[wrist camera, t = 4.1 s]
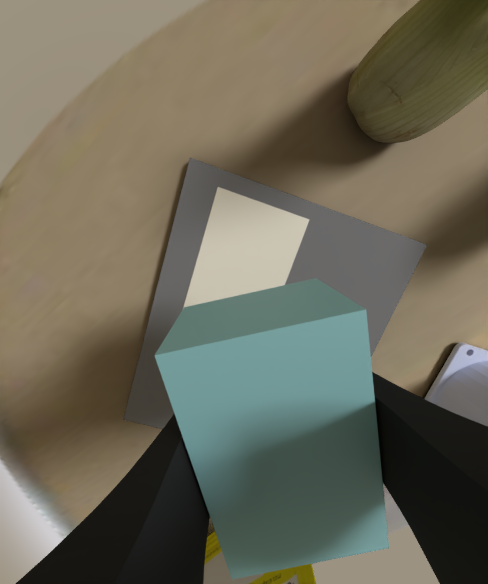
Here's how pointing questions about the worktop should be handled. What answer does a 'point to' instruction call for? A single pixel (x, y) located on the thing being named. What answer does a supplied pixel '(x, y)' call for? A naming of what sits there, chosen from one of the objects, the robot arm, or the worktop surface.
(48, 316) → the worktop surface
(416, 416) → the robot arm
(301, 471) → the card box
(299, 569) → the food package
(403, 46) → the fennel bulb
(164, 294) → the mat
